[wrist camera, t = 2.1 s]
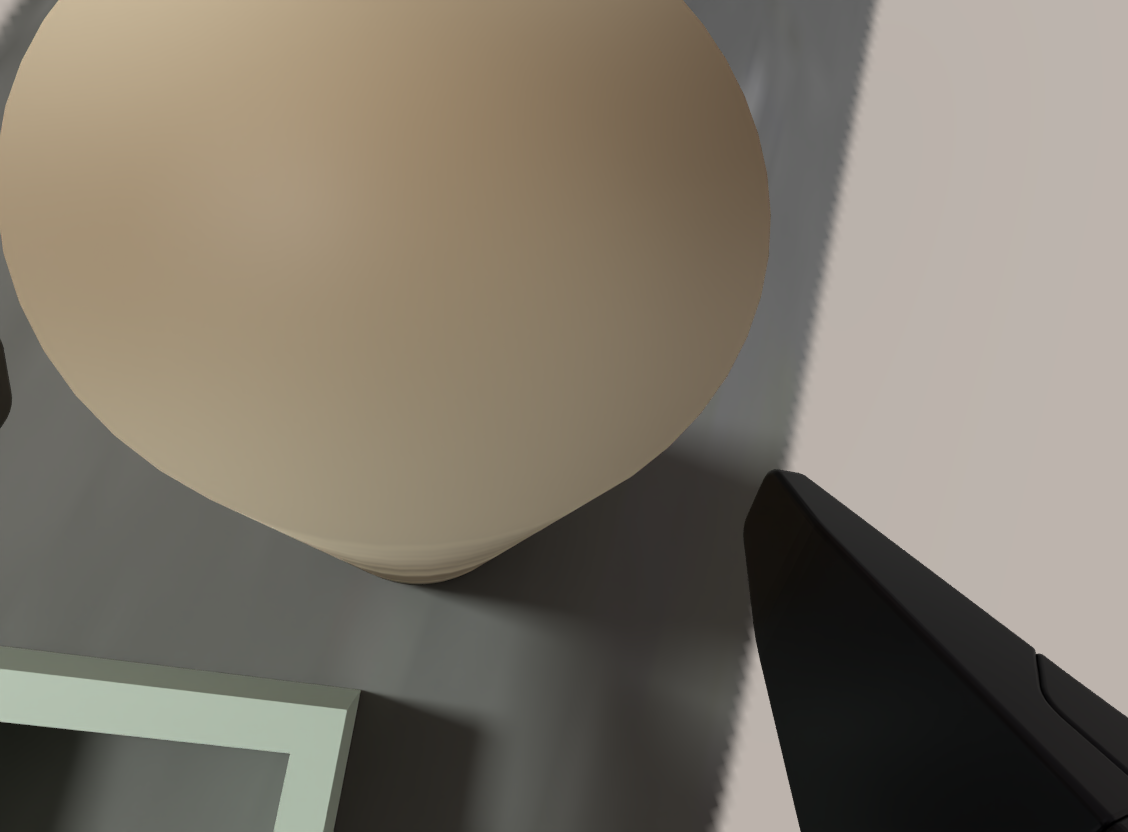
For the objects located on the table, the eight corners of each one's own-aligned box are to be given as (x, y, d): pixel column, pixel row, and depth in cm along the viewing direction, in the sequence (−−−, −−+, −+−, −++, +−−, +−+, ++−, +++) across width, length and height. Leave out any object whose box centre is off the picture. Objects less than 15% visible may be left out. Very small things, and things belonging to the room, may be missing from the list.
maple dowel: (565, 523, 18) (893, 348, 5) (365, 624, 16) (185, 704, 4) (474, 338, 18) (576, -198, 6) (274, 422, 17) (-123, -45, 5)
